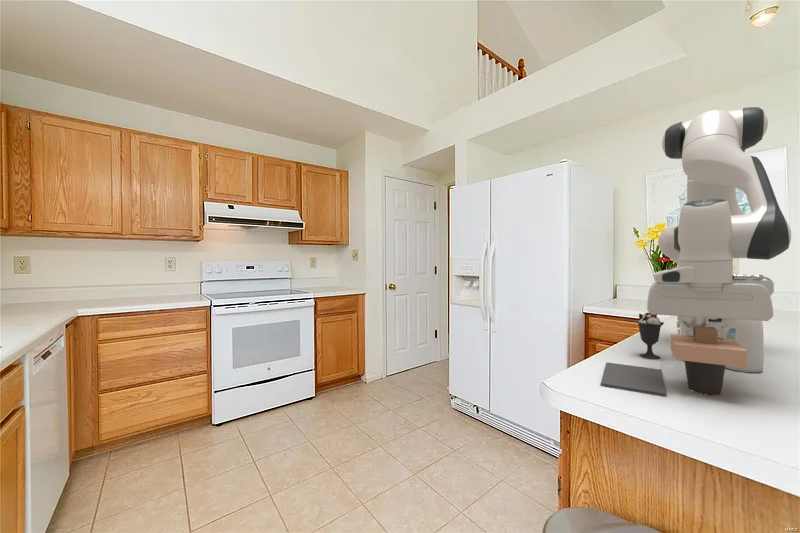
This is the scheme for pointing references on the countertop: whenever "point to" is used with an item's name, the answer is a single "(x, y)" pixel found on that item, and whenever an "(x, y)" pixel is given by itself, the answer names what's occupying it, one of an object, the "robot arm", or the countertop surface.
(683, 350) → the cover
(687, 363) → the coffee cup
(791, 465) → the countertop surface
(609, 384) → the mat
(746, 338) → the milk bottle
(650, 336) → the sundae
